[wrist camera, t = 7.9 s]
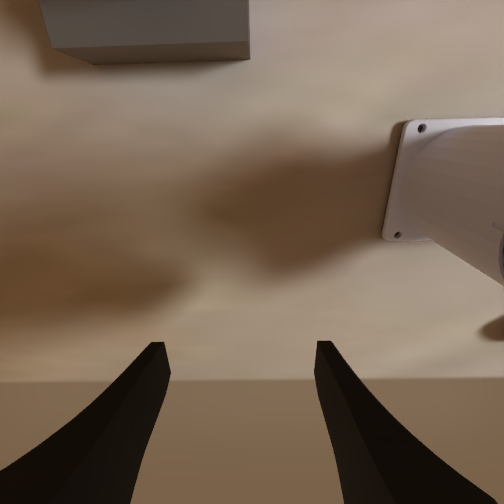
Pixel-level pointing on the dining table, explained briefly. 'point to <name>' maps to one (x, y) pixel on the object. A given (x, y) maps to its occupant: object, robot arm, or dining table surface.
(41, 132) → the dining table surface
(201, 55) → the socket
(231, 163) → the dining table surface
